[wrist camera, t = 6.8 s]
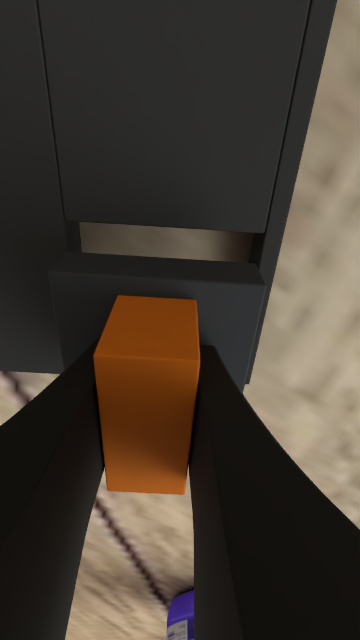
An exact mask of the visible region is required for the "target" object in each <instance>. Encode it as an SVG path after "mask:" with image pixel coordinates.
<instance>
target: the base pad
mask: <svg viewBox="0 0 360 640" xmlns="http://www.w3.org/2000/svg"><path fill="white" fill-rule="evenodd" d="M336 3H337V0H0V371H15V372H33V373H52V374H61V373H62V372H63V371H64V367H63V361H62V355H61V349H60V343H59V337H58V331H57V325H56V320H55V314H54V308H53V302H52V296H51V290H50V284H49V278H48V271H49V270H50V269H51V268H52V267H53V266H54V265H55V264H56V263H57V261H58V260H59V259H60V258H61V257H62V256H63V255H64V254H65V253H66V252H77V253H82V251H81V241H80V231H79V222H94V223H109V224H125V225H141V226H157V227H173V228H188V229H204V230H220V231H236V232H252V233H255V234H254V239H253V245H252V250H251V256H250V261H249V263H254V264H256V266H257V268H258V270H259V272H260V274H261V276H262V278H263V280H264V282H265V284H266V290H265V295H264V299H263V304H262V308H261V313H260V318H259V322H258V327H257V331H256V336H255V340H254V345H253V349H252V354H251V358H250V363H249V367H248V372H247V376H246V381H245V384H249V382H250V378H251V374H252V369H253V365H254V361H255V356H256V352H257V348H258V343H259V339H260V334H261V330H262V326H263V321H264V317H265V313H266V308H267V304H268V300H269V295H270V291H271V287H272V282H273V278H274V273H275V269H276V265H277V260H278V256H279V252H280V247H281V243H282V239H283V234H284V230H285V226H286V221H287V217H288V212H289V208H290V204H291V199H292V195H293V191H294V186H295V182H296V178H297V173H298V169H299V165H300V160H301V156H302V151H303V147H304V143H305V138H306V134H307V130H308V125H309V121H310V117H311V112H312V108H313V104H314V99H315V95H316V90H317V86H318V82H319V77H320V73H321V69H322V64H323V60H324V56H325V51H326V47H327V43H328V38H329V34H330V29H331V25H332V21H333V16H334V12H335V8H336Z"/></svg>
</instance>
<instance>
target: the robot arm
mask: <svg viewBox="0 0 360 640" xmlns="http://www.w3.org/2000/svg"><path fill="white" fill-rule="evenodd" d="M99 340H100V339H96V340H95V341H94V342H93V343H92V344H91V345H90V346H89V347H88V348H87V349H86V350H85V351H84V352H83V353H82V354H81V355H80V356H79V357H78V358H77V359H76V360H75V361H74V362H73V363H72V364H71V365H70V366H69V367H68V368H67V369H66V370H65V371H63V372H62V373H61V374H60V375H59V376H58V377H57V378H56V379H55V380H54V381H53V382H52V383H51V384H50V385H48V386H47V387H46V388H45V389H44V390H43V391H42V392H41V393H40V394H38V395H37V396H36V397H35V398H34V399H33V400H31V401H30V402H29V403H28V404H27V405H26V406H24V407H23V408H22V409H21V410H20V411H18V412H17V413H16V414H15V415H14V416H12V417H11V418H10V419H9V420H8V421H6V422H5V423H4V424H2V425H1V426H0V640H65V636H66V630H67V625H68V620H69V615H70V610H71V605H72V600H73V595H74V589H75V584H76V579H77V574H78V569H79V565H80V560H81V555H82V550H83V545H84V540H85V536H86V531H87V527H88V523H89V519H90V515H91V511H92V508H93V504H94V501H95V498H96V494H97V491H98V488H99V484H100V481H101V478H102V474H103V471H104V468H105V464H104V454H103V445H102V435H101V425H100V416H99V406H98V396H97V387H96V377H95V368H94V358H93V355H94V353H95V350H96V348H97V345H98V343H99ZM199 349H200V368H199V377H198V385H197V394H196V402H195V411H194V419H193V428H192V436H191V445H190V453H189V462H188V465H189V477H190V488H191V500H192V511H193V529H194V640H360V529H359V528H358V527H357V526H356V525H354V524H353V523H352V522H351V521H350V520H349V519H348V518H347V517H346V516H345V515H344V514H343V513H342V512H341V511H340V510H339V509H338V508H337V507H336V506H335V505H334V504H333V503H332V502H331V501H330V500H329V499H328V498H327V497H326V496H325V495H324V494H323V493H322V492H321V491H320V490H319V488H318V487H317V486H316V485H315V484H314V483H313V482H312V481H311V480H310V479H309V478H308V477H307V475H306V474H305V473H304V472H303V471H302V470H301V469H300V468H299V467H298V465H297V464H296V463H295V462H294V461H293V460H292V459H291V457H290V456H289V455H288V454H287V453H286V452H285V450H284V449H283V448H282V447H281V445H280V444H279V443H278V442H277V441H276V439H275V438H274V437H273V435H272V434H271V433H270V432H269V430H268V429H267V428H266V426H265V425H264V424H263V422H262V421H261V420H260V418H259V417H258V416H257V414H256V413H255V411H254V410H253V409H252V407H251V406H250V404H249V403H248V401H247V400H246V398H245V397H244V395H243V394H242V392H241V391H240V389H239V388H238V386H237V384H236V383H235V381H234V380H233V378H232V376H231V374H230V373H229V371H228V369H227V368H226V366H225V364H224V362H223V360H222V358H221V356H220V354H219V352H218V350H217V349H216V348H215V346H213V345H199Z"/></svg>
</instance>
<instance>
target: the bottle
mask: <svg viewBox="0 0 360 640" xmlns="http://www.w3.org/2000/svg"><path fill="white" fill-rule="evenodd" d="M166 640H194V590H193V591H189V592H186V593H183V594H181V595H179V596H177V597H176V598H174V599H173V600H172V602H171V605H170V608H169V612H168V618H167V635H166Z"/></svg>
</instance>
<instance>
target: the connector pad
mask: <svg viewBox="0 0 360 640" xmlns="http://www.w3.org/2000/svg"><path fill="white" fill-rule="evenodd" d="M48 278H49V284H50V290H51V296H52V302H53V308H54V314H55V320H56V325H57V331H58V337H59V343H60V349H61V355H62V361H63V367H64V371H65V370H66V369H67V368H68V367H69V366H70V365H71V364H72V363H73V362H74V361H75V360H76V359H77V358H78V357H79V356H80V355H81V354H82V353H83V352H84V351H85V350H86V349H87V348H88V347H89V346H90V345H91V344H92V343H93V342H94V341H95V340H96V339H100V340H99V343H98V345H97V348H96V350H95V353H94V355H93V358H94V368H95V377H96V387H97V396H98V406H99V416H100V425H101V435H102V445H103V454H104V464H105V473H106V483H107V490H108V491H117V492H138V493H158V494H178V495H183V494H184V493H185V487H186V479H187V470H188V462H189V453H190V445H191V436H192V428H193V419H194V411H195V402H196V394H197V385H198V377H199V368H200V349H199V345H213V346H215V348H216V349H217V350H218V352H219V354H220V356H221V358H222V360H223V362H224V364H225V366H226V368H227V369H228V371H229V373H230V374H231V376H232V378H233V380H234V381H235V383H236V384H237V386H238V388H239V389H240V391H241V392H242V394H243V390H244V385H245V381H246V376H247V372H248V367H249V363H250V358H251V354H252V349H253V345H254V340H255V336H256V331H257V327H258V322H259V318H260V313H261V308H262V304H263V299H264V295H265V290H266V284H265V282H264V280H263V278H262V276H261V274H260V272H259V270H258V268H257V266H256V264H254V263H238V262H222V261H206V260H190V259H174V258H158V257H142V256H126V255H110V254H94V253H77V252H66V253H65V254H64V255H63V256H62V257H61V258H60V259H59V260H58V261H57V263H56V264H55V265H54V266H53V267H52V268H51V269H50V270H49V271H48Z"/></svg>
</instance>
